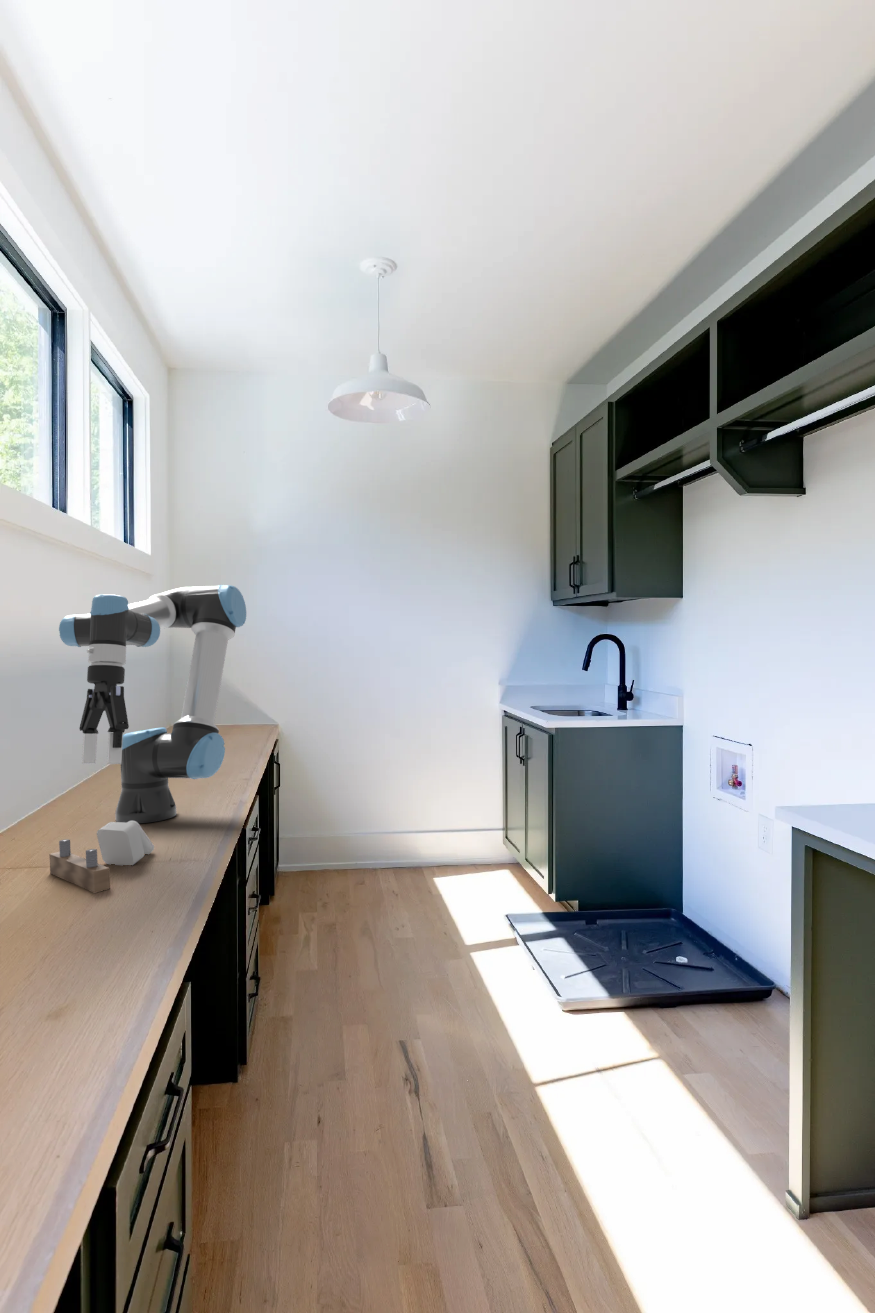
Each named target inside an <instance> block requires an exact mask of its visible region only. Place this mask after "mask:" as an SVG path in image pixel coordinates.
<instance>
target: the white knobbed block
mask: <svg viewBox="0 0 875 1313" xmlns="http://www.w3.org/2000/svg"><path fill="white" fill-rule="evenodd" d="M96 836H97V837H96V838H97V841H98V846H99V850H100V855H101V858H102V861H103V862H104V863H105V864H107V865H111V864H115V865H114V866H123V865H132V866H134V865H135V864H136V863H138V862H139V861H140V860H142V858H144V857H145V855H144V854H148V855H150V854H151V853H152V852H153V851H154V850H155V846H154V844H153V842H152V841H151V839H150V838H149V836H148V835H147V833H146V832H145V830H143V827H142V826H141V825H140V823H137V822H136V821H128V822H127V823H124V822H117V821H110V822H108V823H106V824H105V825H103V826H102V827H101V828H99V829H98V830H97V831H96Z"/></svg>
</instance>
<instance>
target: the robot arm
mask: <svg viewBox="0 0 875 1313" xmlns="http://www.w3.org/2000/svg"><path fill="white" fill-rule="evenodd" d="M246 620H247V606H246V601H245V599H244V595H243V594H242V592H241V590H240V589H238V587H236V586H234V585H232V584H218V585H201V586H199V585H198V586H197V585H196V586H195V585H194V586H182V587H178V588H173V589H170V590H167V591H164V592H160V593H156V594H152V595H151V596H149V597H148V598H147V599H146V600H142V601H139V602H138V601H137V602H133V603H129V601H128V599H127V597H125V596H123V595H119V594H117V595H116V594H112V593H111V594H106V593H105V594H96V595H94V597H92V601H91V608H90V612H89V613H82V614H79V613H75V614H69V615H68V614H67V615H66V616H64V617H63V618H62V619H61V620H60V622H59V626H58V631H59V638H60V640H61V642H63V644H64V645H66V646H68V647H78V648H81V647H88V648H87V649H86V653H88V660H87V661H88V663H89V664H90V665H88V666H87V673H86V674H87V676H86V681H87V683H88V684H93V685H94V687H93V688H87V691H86V700H85V703H84V709H83V712H82V716H81V719H80V725H79V727H78V728H79V731H82V734H83V736H82V737H83V739H82V741H83V742H82V754H81V755H82V757H81V764H96V761H97V745H98V734H99V730H98V726H99V723H100V721H101V719H102V716H103V713H104V712H105V716H106V718H107V721H108V725H109V728H108V730H107V733H108V741H107V756H106V757H107V758H106V759H107V760H106V765H120V781H121V791H120V794H119V795H120V796H119V799H118V802H117V805H116V809H115V813H114V814H115V822H124V823H127V822H128V821H136V822H137V823H138V824H148V823H155V822H162V821H165V820H169V819H171V818H174V817H175V816H177V804H176V802H175V800H174V797H173V795H172V791H171V789H170V787H169V786H170V785H169V779H190V780H191V779H192V780H198V779H208V778H211V777H213V776H214V775H215V774H216V773H217V772H218V771H219V770H220V768H221V767H222V764H223V761H224V759H225V751H226V748H225V743H226V742H225V740H224V738H223V736H222V735H221V734H219V732H220V729H219V728H218V726H217V725H216V723H215V722H216V721H215V720H216V715H217V708H218V703H219V702H218V701H219V697H220V692H221V691H220V690H221V684H222V677H223V673H224V666H225V660H226V659H225V658H226V654H227V647H228V641H230V640H231V639H233V638H234V636H235V634H236V628H241V627H242V626H244V624H246ZM169 628H170V629H171V628H176V629H177V628H178V629H179V628H181V629H191V631H192V633H193V634H194V635H195V638H194V644H193V649H192V654H191V660H190V665H189V671H188V678H187V680H186V681H187V683H186V686H185V693H184V698H183V704H182V710H181V715H180V718H179V719H178V720H177V721H175V722H174V723H173V725H172V726H173V727H172V731H171V733H170V732H169V733H168V730H167V728H166V727H156V728H155V727H154V728H148V729H144V730H143V729H142V730H137V731H136V730H135V731H131V732H126V733H125V730H128V729H129V727H130V725H129V720H128V713H127V712H128V711H127V708H126V700H125V686H123V684H124V683H125V676H126V675H125V672H126V669H125V667H124V666H125V665H126V661H127V660H126V658H127V646H136V647H142V648H148V647H151V646H153V645H154V644H156V642H157V641H158V640H159V638H160V635H161V630H165V629H169ZM124 733H125V734H124Z"/></svg>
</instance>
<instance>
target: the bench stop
mask: <svg viewBox="0 0 875 1313" xmlns="http://www.w3.org/2000/svg"><path fill="white" fill-rule="evenodd" d="M58 845H59V851H57V852H52V853H48V854H49V873H50V875H53V876H55V877H57V878H60V879H61V880H64V881H67V882H68V883H71V884H73V885H76V886H77V887H80V888H82V889H85V888H86V889H85V890H87V891H89V890H90V891H89V892H91V893H94V894H95V893H99V892H103V890H104V891H106V890H110V889H111V880H110V879H111V876H110V872H111V871H110V867H109V866H105V865H103V864H100V863H99V862H98V849H96V848H91V849H89V848H88V849H86V850H85V857H82V856H79V855H77V854H74V853H71V839H61V840H58ZM109 888H110V889H109Z"/></svg>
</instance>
